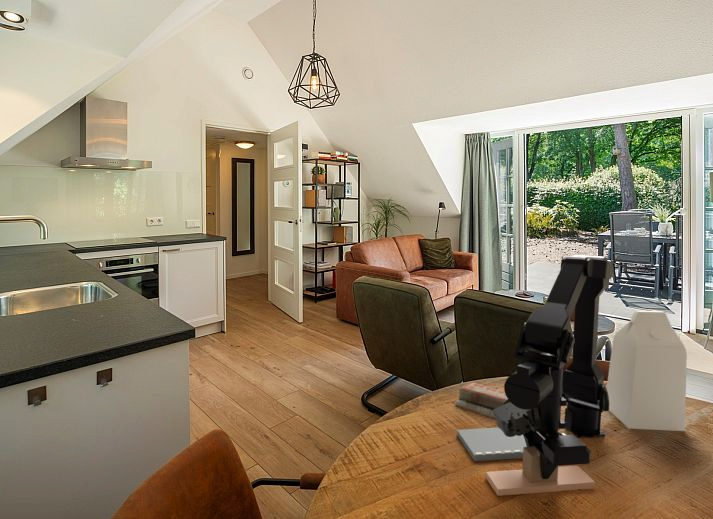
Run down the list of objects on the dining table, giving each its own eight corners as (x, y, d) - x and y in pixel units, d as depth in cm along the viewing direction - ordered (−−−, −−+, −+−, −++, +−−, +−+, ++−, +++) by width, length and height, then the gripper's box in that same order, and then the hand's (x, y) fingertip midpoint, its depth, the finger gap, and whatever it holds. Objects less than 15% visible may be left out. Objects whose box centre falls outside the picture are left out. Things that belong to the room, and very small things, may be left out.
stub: (577, 471, 80) (578, 440, 79) (594, 488, 75) (596, 455, 74) (485, 478, 78) (487, 446, 77) (497, 495, 73) (499, 462, 72)
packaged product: (454, 388, 108) (472, 377, 115) (453, 406, 108) (471, 394, 116) (526, 409, 96) (540, 395, 103) (525, 430, 96) (539, 414, 104)
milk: (654, 407, 106) (662, 306, 104) (684, 431, 95) (694, 318, 92) (604, 405, 108) (610, 305, 105) (628, 428, 96) (636, 316, 94)
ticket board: (534, 430, 95) (534, 424, 95) (560, 455, 85) (560, 449, 85) (457, 435, 93) (457, 429, 93) (474, 461, 83) (474, 454, 83)
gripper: (479, 372, 83) (476, 447, 85) (527, 417, 65) (523, 512, 66) (533, 369, 84) (529, 443, 86) (595, 413, 66) (589, 506, 67)
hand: (539, 472), depth 76 cm, fingers closed on stub, 3 cm apart
